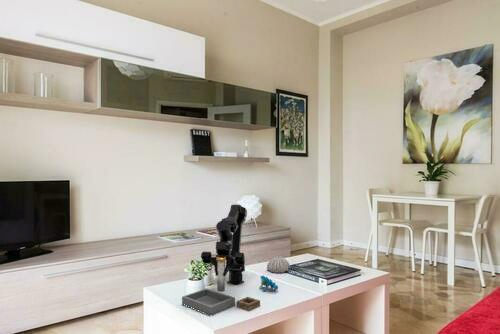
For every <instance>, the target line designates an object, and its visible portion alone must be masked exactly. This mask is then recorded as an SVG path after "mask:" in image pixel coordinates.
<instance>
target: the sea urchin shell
mask: <svg viewBox="0 0 500 334" xmlns="http://www.w3.org/2000/svg"><path fill="white" fill-rule="evenodd" d="M288 268H291V264H290V263H289V261H288V260H287V259H286V258H284V257H282V256H279V255H278V256H274V257H273V258H271V259H270V260H269V261H268V262H267V265H266V269H267V270H268V271H269V272H270V273H277V274H280V273H282V274H283V273H286V272H285V271H287V269H288ZM287 272H288V271H287Z"/></svg>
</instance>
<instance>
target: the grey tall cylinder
mask: <svg viewBox="0 0 500 334" xmlns="http://www.w3.org/2000/svg"><path fill="white" fill-rule="evenodd" d="M216 260H217V276H216V279H217V283H216V284H217V285H216V286H217V288H216V289H217V290H216V292H219V293H221V292H222V293H223V292H225V291H226V276H224V271H225V267H226V257H224V256H218V257H216Z"/></svg>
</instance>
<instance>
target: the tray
mask: <svg viewBox="0 0 500 334" xmlns="http://www.w3.org/2000/svg"><path fill="white" fill-rule="evenodd" d="M235 302H236V297H235V296H232V295H228V294H225V293H223V292H222V293H221V292H219V291H217V290H212V289H210V288H204V289H201V290H198V291H195V292H192V293H189V294H186V295H183V296H181V305H182V304H185V305H187V306H189V307H192V308H194V309H196V310H195V311H197V310H199V311H201V312H200V313H202V312H204V313H206V314H205V315H207V314H209V315H212V316H214V314H215V315H217V314H219V313H222V312H223V311H226V310H228V309H229V310H230V309H231V308H233V307H235V306H236V303H235ZM189 307H188V308H189ZM194 309H193V310H194ZM199 311H198V312H199ZM221 311H222V312H221ZM204 313H203V314H204ZM216 313H217V314H216ZM209 315H208V316H209Z"/></svg>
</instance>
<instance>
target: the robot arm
mask: <svg viewBox="0 0 500 334" xmlns="http://www.w3.org/2000/svg"><path fill="white" fill-rule="evenodd" d="M247 216H248V210H247V209H246V207H244V206H242V205H241V204H231V205H230V210H229V212H228V215H227V217H224V218H222V219H221V220H220V221H218V222H217V223H216V226H215V227H216V231H217V235H218V237H219V241H216V243H215V250H216V251H215V253H212V251H202V252H201V254H200V258H201V261H202V264H211V265H212V266H214V272H215V273H214V274H215V276H216V277H217V260H216V257H218V256H224V257H226V260H225V271H224V276H225V277H226V276H227V274H228V280H227V281H226V283H227V284H231V285H234V286H235V285H236V286H237V285H239V284H240V285H241V284H242V283H243V284H244V282H245V281H244V280H243V273H244V272H245V271H246V266H245V265H246V258H245V253H244V252H241V244H242V243H241V242H242V231H243V229H242V228H243V225H244V223H245V222H246V218H247Z"/></svg>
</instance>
